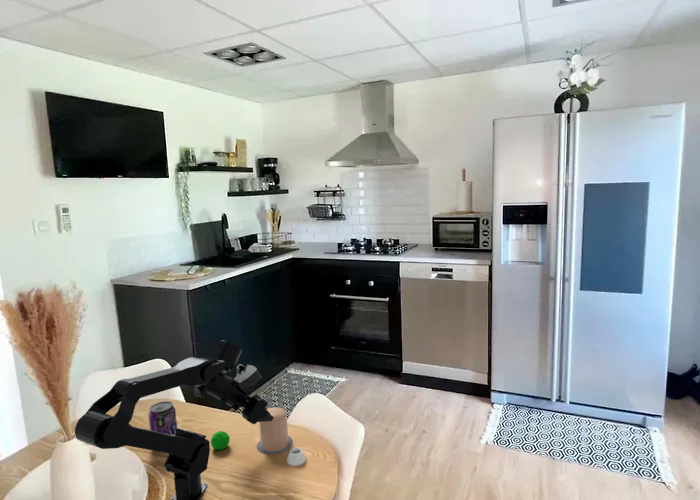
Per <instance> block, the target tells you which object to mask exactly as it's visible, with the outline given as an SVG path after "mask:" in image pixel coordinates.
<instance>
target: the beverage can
mask: <svg viewBox="0 0 700 500" xmlns="http://www.w3.org/2000/svg"><path fill="white" fill-rule="evenodd" d="M148 422H149V423H148V424H149V430H151V431H155V432H160V433H164V434H168V435H174V434H176V430H177V428H178V422H177V414H176V408H175V406H174V403H173V402H172V401H171V400H170V401H169V400H166V401H165V400H164V401H158V402H156V403H154V404H152V405H151V406H150V407H149V412H148Z"/></svg>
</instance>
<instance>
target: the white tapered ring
mask: <svg viewBox="0 0 700 500" xmlns="http://www.w3.org/2000/svg"><path fill="white" fill-rule="evenodd" d="M306 461H307V456H306V455H305V453H304V451H303V450H302V449H301V448H300V447H294V448H292V449H290V450H289V453H288V456H287V458H286V463H287V464H288V465H289V466H291V467H292V466H293V467H294V466H295V467H296V466H300V465H303V464H304V463H305V462H306Z"/></svg>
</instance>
